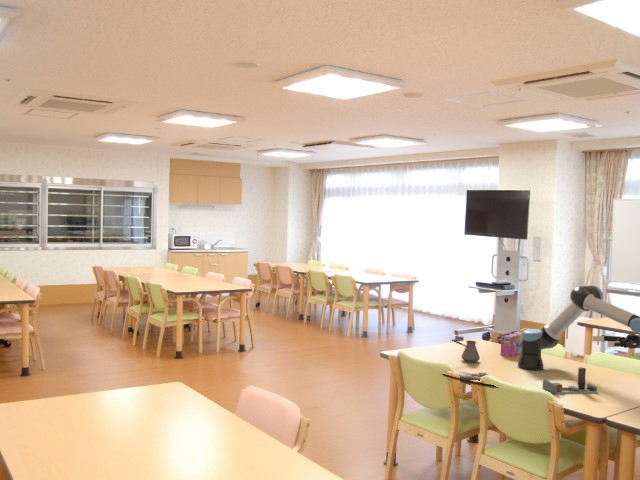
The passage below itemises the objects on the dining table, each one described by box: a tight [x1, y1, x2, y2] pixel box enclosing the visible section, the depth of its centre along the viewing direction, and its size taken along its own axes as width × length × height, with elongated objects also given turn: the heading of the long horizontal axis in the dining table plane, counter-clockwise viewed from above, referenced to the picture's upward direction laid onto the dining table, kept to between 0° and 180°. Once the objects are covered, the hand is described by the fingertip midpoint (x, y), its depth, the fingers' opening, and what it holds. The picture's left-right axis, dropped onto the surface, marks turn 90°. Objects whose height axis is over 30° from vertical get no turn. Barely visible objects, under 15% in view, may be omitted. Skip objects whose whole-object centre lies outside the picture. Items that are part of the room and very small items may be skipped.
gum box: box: [499, 330, 523, 358], centre depth 409 cm, size 24×8×14 cm, turn 138°
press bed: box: [552, 383, 599, 395], centre depth 317 cm, size 26×11×4 cm, turn 98°
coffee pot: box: [449, 339, 480, 364], centre depth 380 cm, size 21×12×15 cm, turn 112°
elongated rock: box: [454, 369, 489, 382], centre depth 339 cm, size 35×5×10 cm
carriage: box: [568, 366, 589, 391], centre depth 318 cm, size 9×5×12 cm, turn 98°
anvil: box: [542, 379, 557, 395], centre depth 315 cm, size 2×11×4 cm, turn 8°
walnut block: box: [552, 382, 563, 392], centre depth 316 cm, size 4×4×4 cm
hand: (600, 341), depth 318 cm, fingers open, 13 cm apart
